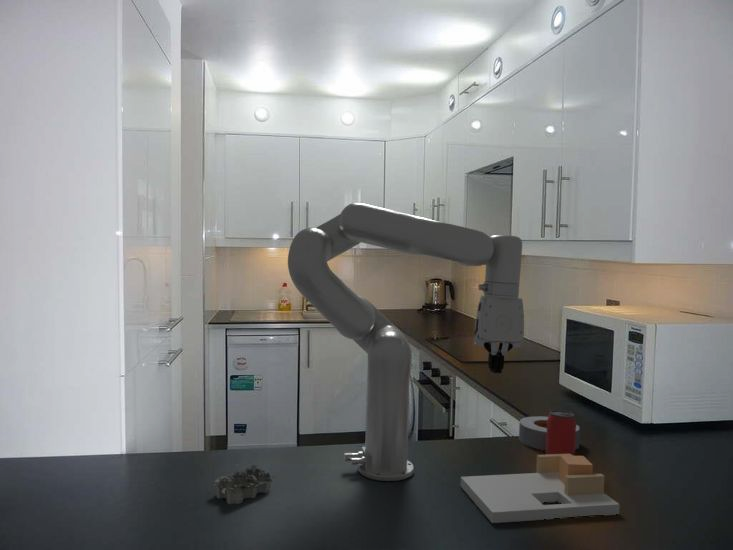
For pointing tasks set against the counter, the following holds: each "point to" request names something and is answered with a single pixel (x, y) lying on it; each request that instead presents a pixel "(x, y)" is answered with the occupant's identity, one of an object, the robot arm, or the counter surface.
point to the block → (573, 466)
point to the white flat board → (539, 494)
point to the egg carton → (243, 484)
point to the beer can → (560, 433)
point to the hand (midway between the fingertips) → (495, 371)
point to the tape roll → (538, 432)
